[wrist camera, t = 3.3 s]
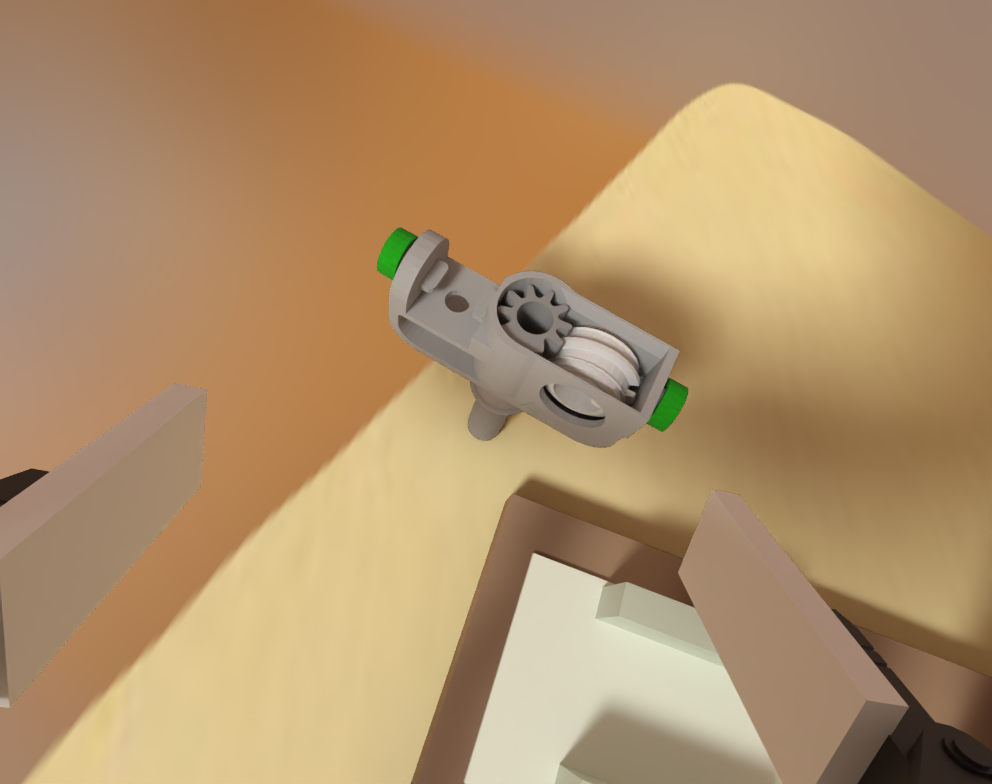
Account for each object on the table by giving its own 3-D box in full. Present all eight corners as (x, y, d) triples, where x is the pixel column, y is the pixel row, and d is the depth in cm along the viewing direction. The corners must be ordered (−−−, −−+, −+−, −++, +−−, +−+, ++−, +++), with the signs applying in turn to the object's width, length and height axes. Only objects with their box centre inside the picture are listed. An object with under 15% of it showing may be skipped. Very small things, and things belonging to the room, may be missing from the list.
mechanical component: (405, 344, 27) (416, 198, 18) (596, 453, 27) (705, 359, 18) (370, 394, 26) (363, 263, 17) (570, 509, 26) (672, 437, 17)
